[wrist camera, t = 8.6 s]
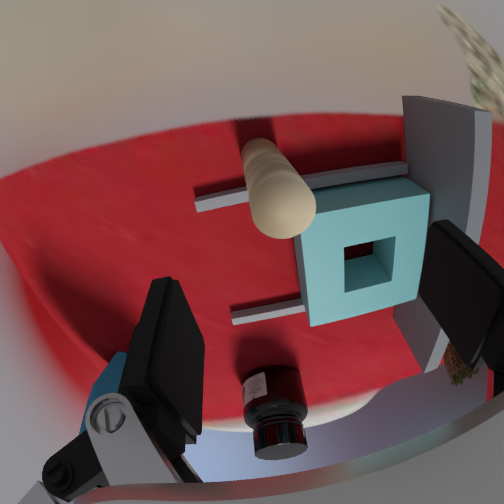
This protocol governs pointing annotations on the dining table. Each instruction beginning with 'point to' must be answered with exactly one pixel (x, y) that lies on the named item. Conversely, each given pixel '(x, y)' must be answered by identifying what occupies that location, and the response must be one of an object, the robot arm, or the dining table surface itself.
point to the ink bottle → (275, 411)
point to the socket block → (357, 232)
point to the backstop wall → (427, 177)
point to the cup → (456, 366)
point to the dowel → (276, 191)
